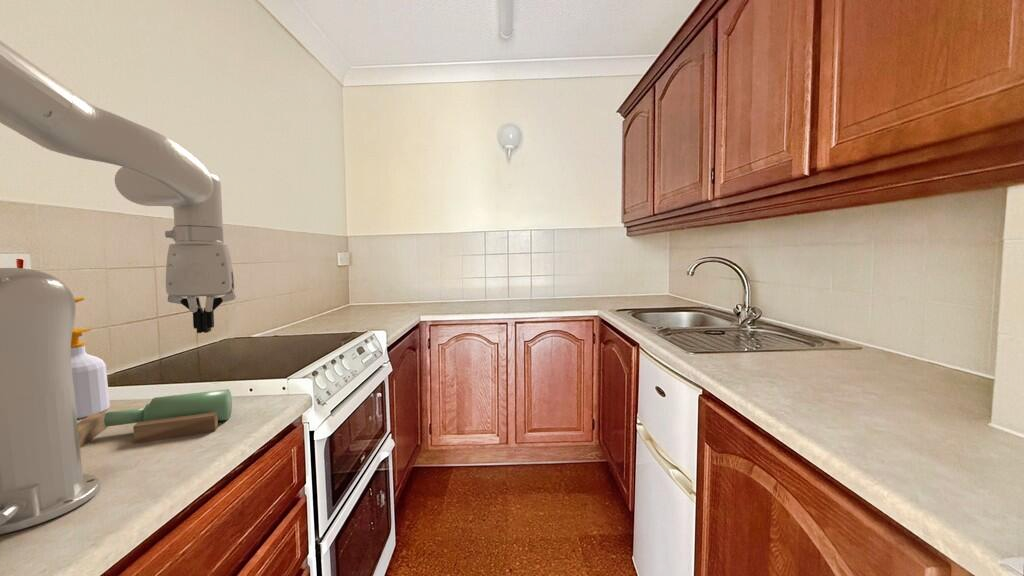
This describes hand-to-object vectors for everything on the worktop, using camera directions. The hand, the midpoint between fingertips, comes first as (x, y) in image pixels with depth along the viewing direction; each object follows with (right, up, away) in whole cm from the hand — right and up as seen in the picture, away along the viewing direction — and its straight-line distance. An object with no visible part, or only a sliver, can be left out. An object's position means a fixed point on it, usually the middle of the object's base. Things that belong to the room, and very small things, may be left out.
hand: (204, 331), depth 82 cm
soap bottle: (-32, -18, +7) cm, 37 cm away
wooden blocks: (-8, -18, -1) cm, 20 cm away
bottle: (+2, -15, +3) cm, 16 cm away
